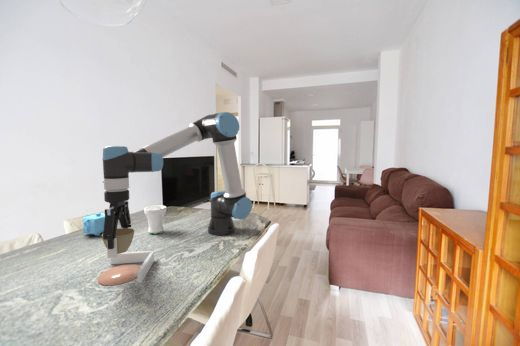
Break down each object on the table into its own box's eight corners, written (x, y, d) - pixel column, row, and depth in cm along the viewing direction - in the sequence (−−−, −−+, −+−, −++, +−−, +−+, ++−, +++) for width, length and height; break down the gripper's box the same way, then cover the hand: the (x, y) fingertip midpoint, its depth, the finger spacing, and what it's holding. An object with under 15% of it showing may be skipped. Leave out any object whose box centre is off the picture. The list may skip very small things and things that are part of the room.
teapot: (96, 239, 117) (94, 218, 116) (72, 235, 124) (71, 214, 123) (123, 230, 132) (122, 210, 131) (101, 226, 138) (100, 208, 137)
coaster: (147, 263, 92) (147, 262, 92) (134, 283, 79) (134, 282, 79) (108, 266, 90) (108, 265, 90) (89, 287, 76) (89, 286, 76)
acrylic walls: (154, 259, 96) (154, 250, 96) (141, 282, 79) (140, 271, 79) (112, 262, 93) (111, 253, 93) (88, 287, 76) (88, 275, 76)
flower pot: (141, 248, 86) (140, 229, 86) (116, 259, 77) (116, 238, 76) (121, 244, 90) (120, 226, 89) (95, 254, 80) (94, 234, 80)
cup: (167, 228, 136) (166, 204, 134) (166, 234, 125) (165, 209, 124) (146, 230, 132) (145, 206, 131) (143, 237, 122) (142, 210, 120)
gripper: (118, 185, 92) (120, 239, 94) (87, 195, 70) (90, 266, 72) (139, 185, 93) (140, 238, 95) (114, 195, 71) (117, 264, 73)
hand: (119, 250), depth 83 cm, fingers closed on flower pot, 10 cm apart
